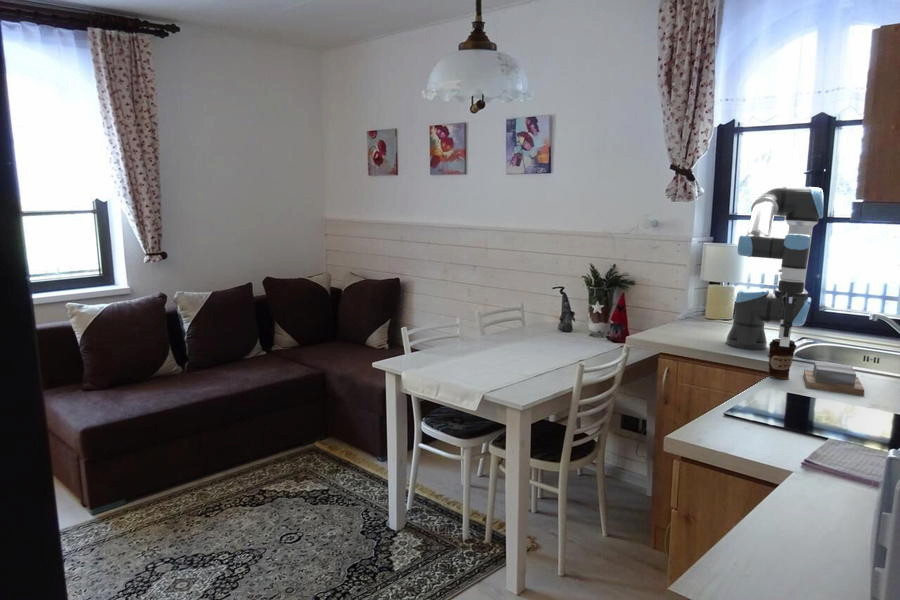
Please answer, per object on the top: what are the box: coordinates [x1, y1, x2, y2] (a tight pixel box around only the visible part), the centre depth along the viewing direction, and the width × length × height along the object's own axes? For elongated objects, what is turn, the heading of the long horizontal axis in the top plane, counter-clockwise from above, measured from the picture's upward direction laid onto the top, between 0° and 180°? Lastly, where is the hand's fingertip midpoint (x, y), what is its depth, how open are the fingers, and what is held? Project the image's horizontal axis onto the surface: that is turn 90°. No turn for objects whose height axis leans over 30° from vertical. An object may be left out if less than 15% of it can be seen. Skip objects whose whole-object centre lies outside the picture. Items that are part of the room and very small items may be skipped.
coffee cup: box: [768, 338, 797, 380], centre depth 221 cm, size 9×8×13 cm
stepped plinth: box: [803, 360, 865, 397], centre depth 215 cm, size 16×16×6 cm
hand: (783, 342), depth 220 cm, fingers open, 13 cm apart
